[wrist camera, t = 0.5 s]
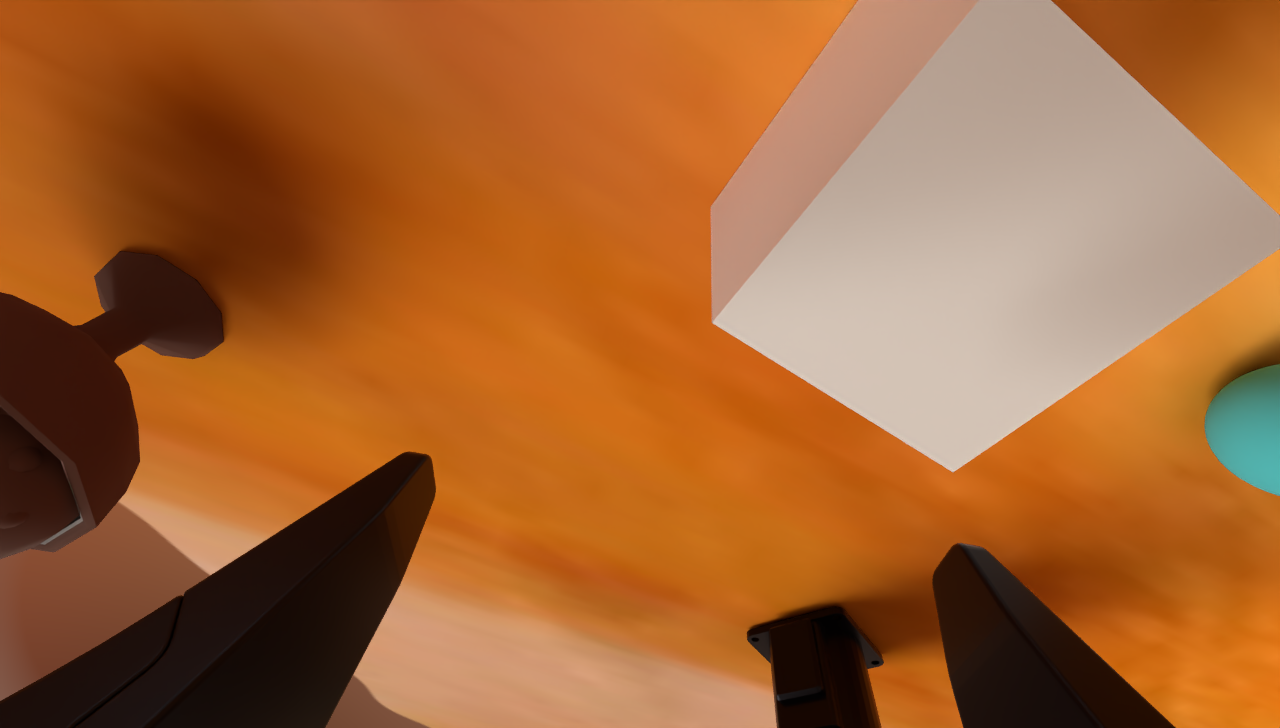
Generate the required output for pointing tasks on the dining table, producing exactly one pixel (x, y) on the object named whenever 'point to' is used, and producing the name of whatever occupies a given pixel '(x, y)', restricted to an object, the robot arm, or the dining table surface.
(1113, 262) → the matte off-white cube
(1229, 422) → the ball
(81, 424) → the ice cream bowl
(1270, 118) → the dining table surface
